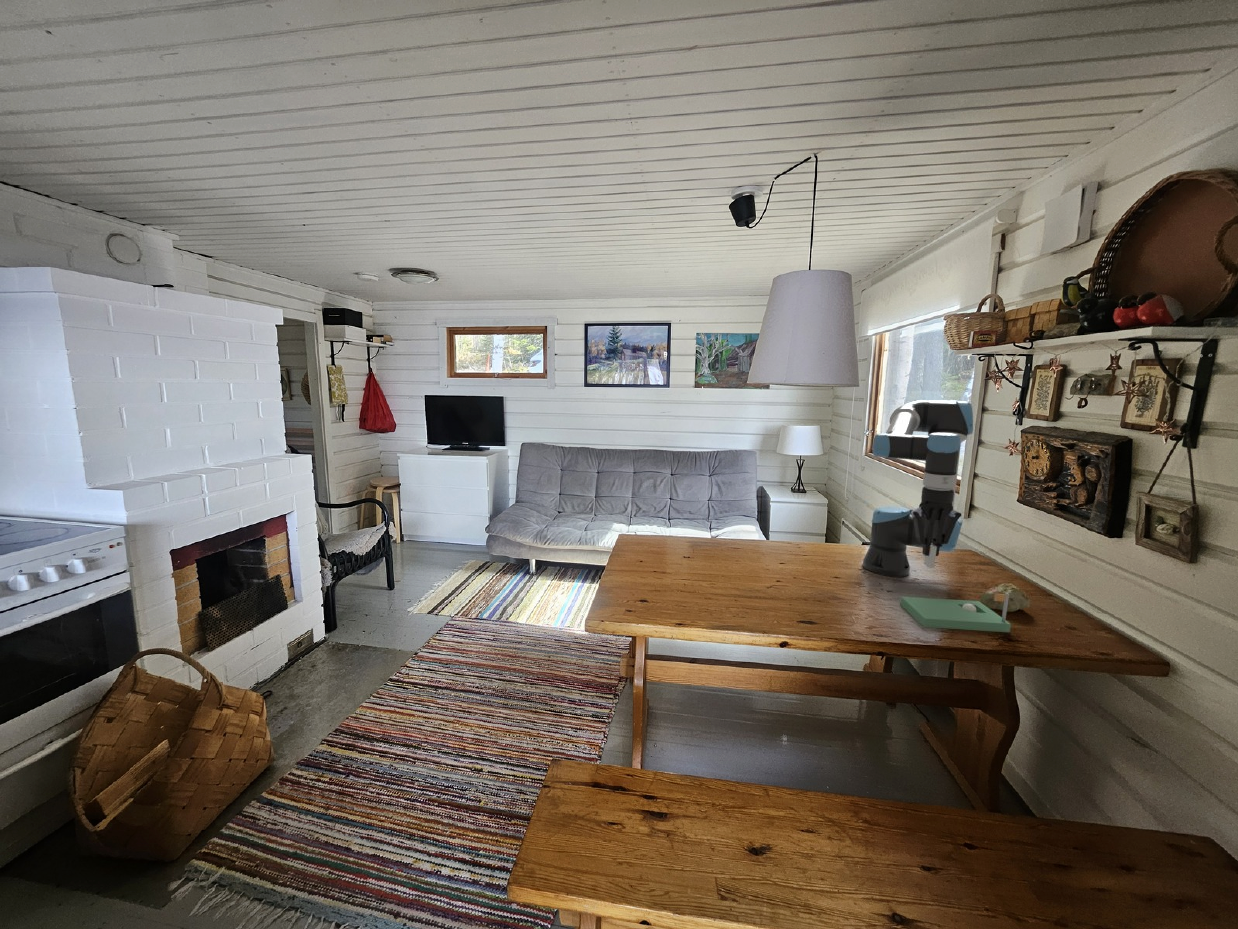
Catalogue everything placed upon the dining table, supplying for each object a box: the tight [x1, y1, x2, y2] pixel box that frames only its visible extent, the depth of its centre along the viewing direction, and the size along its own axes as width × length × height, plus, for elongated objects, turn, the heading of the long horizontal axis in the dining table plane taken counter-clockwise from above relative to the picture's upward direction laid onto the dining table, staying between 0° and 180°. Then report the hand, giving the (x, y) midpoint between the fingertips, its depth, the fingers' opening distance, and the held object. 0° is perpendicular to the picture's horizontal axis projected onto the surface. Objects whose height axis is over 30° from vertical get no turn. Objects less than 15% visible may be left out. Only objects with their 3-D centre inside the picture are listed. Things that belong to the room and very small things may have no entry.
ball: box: [962, 604, 977, 612], centre depth 136 cm, size 4×4×4 cm
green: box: [900, 593, 1012, 633], centre depth 134 cm, size 14×22×10 cm, turn 83°
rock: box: [979, 582, 1032, 613], centre depth 142 cm, size 12×9×10 cm
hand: (929, 565), depth 136 cm, fingers closed
